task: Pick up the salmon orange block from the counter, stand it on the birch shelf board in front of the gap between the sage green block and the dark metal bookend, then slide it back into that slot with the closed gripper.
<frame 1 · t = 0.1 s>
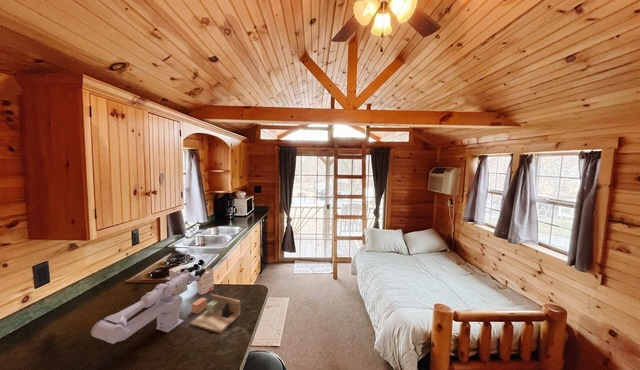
hand: (199, 269, 143), 22 cm above the countertop, tool horizontal, fingers open, 7 cm apart
sage green block: (213, 312, 137), resting on shelf
salmon orange block: (199, 309, 140), on the countertop
ink cartridge box: (205, 291, 159), on the countertop
skincare box: (179, 291, 159), on the countertop
bookend: (225, 315, 134), resting on shelf
shelf: (216, 319, 131), on the countertop
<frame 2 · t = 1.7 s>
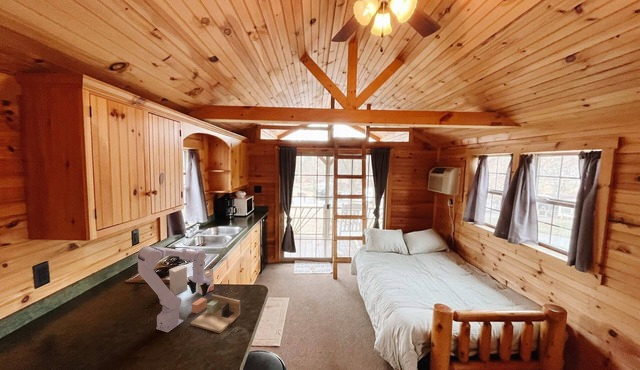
hand: (199, 294, 139), 9 cm above the countertop, tool pointing down, fingers open, 7 cm apart
nothing on the countertop moved.
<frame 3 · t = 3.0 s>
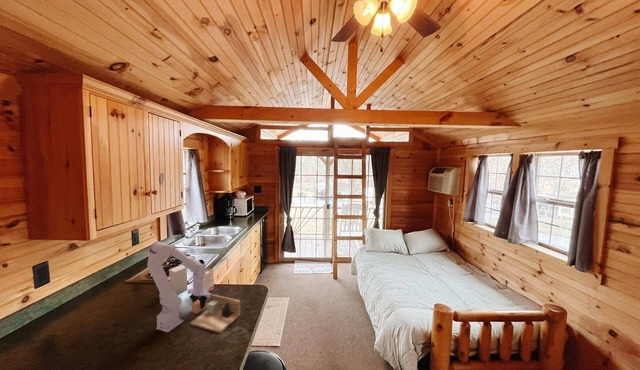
hand: (199, 307, 140), 1 cm above the countertop, tool pointing down, fingers closed on salmon orange block, 4 cm apart
salmon orange block: (199, 309, 140), on the countertop, touching gripper
everything else where it was.
when the fingers open (4 cm above the countertop, at t = 6.6 s): salmon orange block stays where it is, resting on shelf.
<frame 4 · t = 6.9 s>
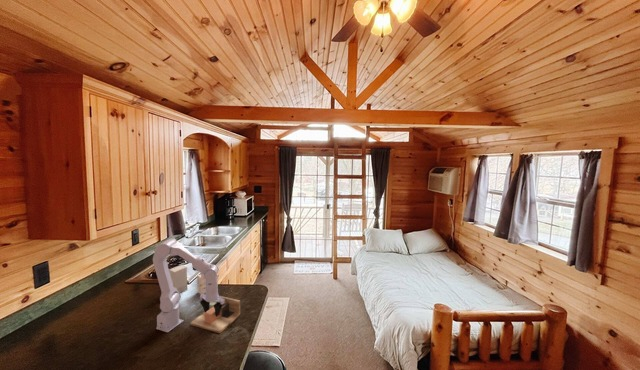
hand: (212, 314, 129), 4 cm above the countertop, tool pointing down, fingers open, 6 cm apart
salmon orange block: (212, 318, 130), point 1 cm above the countertop, touching shelf
everything else where it was.
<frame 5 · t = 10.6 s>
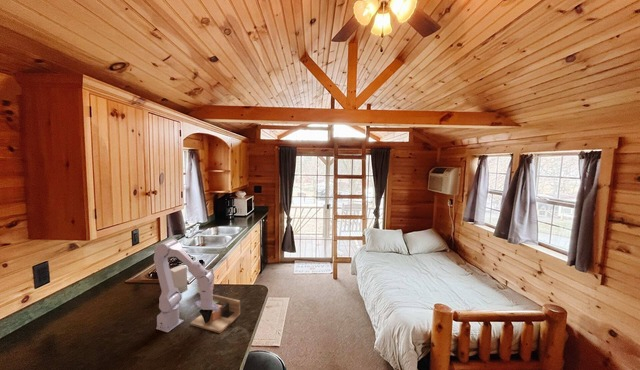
hand: (207, 321, 126), 2 cm above the countertop, tool pointing down, fingers closed, pressing on salmon orange block
salmon orange block: (214, 317, 131), point 1 cm above the countertop, touching gripper, shelf
everything else where it was.
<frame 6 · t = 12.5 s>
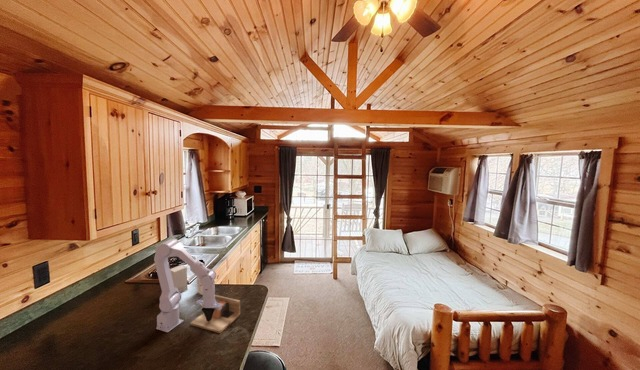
hand: (209, 320, 127), 2 cm above the countertop, tool pointing down, fingers closed
salmon orange block: (219, 313, 134), point 1 cm above the countertop, touching shelf
everything else where it was.
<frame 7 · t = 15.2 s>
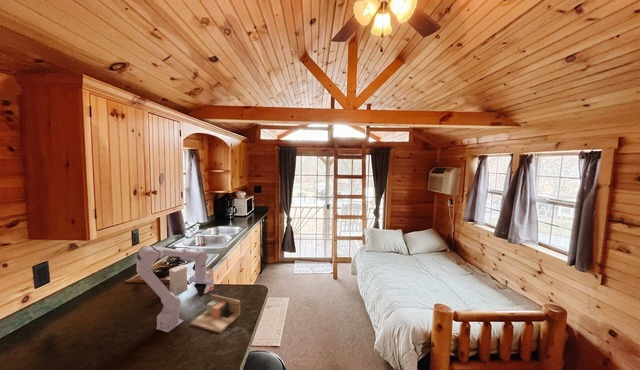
hand: (201, 295, 137), 9 cm above the countertop, tool pointing down, fingers closed
nothing on the countertop moved.
at the end: salmon orange block 0.2 cm from the target spot, point 1.2 cm above the countertop; salmon orange block tilted 0°; the gripper is holding nothing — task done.
